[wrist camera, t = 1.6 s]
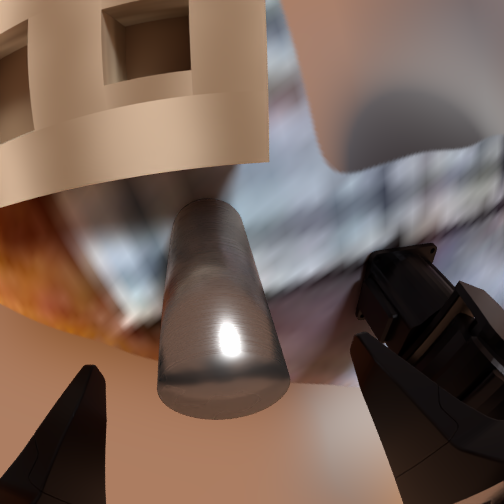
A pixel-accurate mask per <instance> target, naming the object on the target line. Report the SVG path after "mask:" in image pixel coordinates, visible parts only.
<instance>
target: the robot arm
mask: <svg viewBox="0 0 504 504" xmlns="http://www.w3.org/2000/svg"><path fill="white" fill-rule="evenodd" d="M436 251H437V247H436V246H435V245H434V244H433V243H427V244H420V245H413V246H406V247H399V248H392V249H385V250H378V251H374V252H373V253H372V254H371V255H370V258H369V263H368V267H367V271H366V276H365V280H364V282H363V286H362V290H361V294H360V298H359V301H358V307H357V310H356V317H357V319H358V320H364V319H366V321H367V322H368V324H369V326H370V327H371V329H372V331H373V332H374V334H375V336H376V337H377V339H378V340H377V339H376V338H374V337H373V336H372V335H370V334H369V333H367V332H362V333H357V334H356V335H355V336H354V339H353V342H352V345H351V348H350V354H351V358H352V361H353V364H354V368H355V371H356V375H357V378H358V382H359V385H360V389H361V391H362V394H363V397H364V399H365V402H366V404H367V406H368V409H369V412H370V414H371V416H372V419H373V422H374V424H375V426H376V429H377V432H378V434H379V437H380V440H381V442H382V445H383V447H384V450H385V453H386V456H387V458H388V461H389V464H390V466H391V469H392V472H393V475H394V477H395V481H396V484H397V486H398V489H399V492H400V495H401V498H402V501H403V504H504V310H503V309H502V307H501V306H500V305H499V304H498V303H497V302H496V301H495V300H494V299H493V298H492V297H491V296H490V295H489V294H487V293H486V292H485V291H484V290H482V289H480V288H477V287H474V286H472V285H469V284H467V283H464V282H462V281H459V282H458V283H457V285H456V286H455V287H454V286H453V285H452V283H451V282H450V281H449V280H448V279H447V278H446V277H445V276H444V275H443V274H442V273H441V272H440V271H439V270H438V269H437V268H436V267H435V266H434V265H433V264H432V263H433V260H434V257H435V254H436ZM377 257H378V258H377ZM376 258H377V259H376ZM474 317H475V318H474ZM382 343H386V345H387V346H388V347H386V346H385V345H384V344H382ZM106 422H107V419H106V383H105V379H104V377H103V375H102V374H101V372H100V371H99V369H98V368H97V367H96V366H95V365H84V366H83V367H82V369H81V370H80V371H79V373H78V374H77V375H76V376H75V378H74V379H73V381H72V382H71V383H70V384H69V386H68V387H67V389H66V390H65V391H64V392H63V394H62V395H61V397H60V398H59V399H58V401H57V402H56V403H55V405H54V406H53V408H52V409H51V410H50V412H49V413H48V415H47V416H46V418H45V419H44V420H43V422H42V423H41V425H40V426H39V428H38V429H37V430H36V432H35V434H34V435H33V437H32V438H31V439H30V441H29V442H28V444H27V445H26V447H25V448H24V449H23V451H22V452H21V453H20V455H19V456H18V457H17V459H16V460H15V461H14V462H13V464H12V465H11V466H10V467H9V468H8V470H7V471H6V472H5V473H4V475H3V476H2V477H1V478H0V504H106V494H105V445H106Z"/></svg>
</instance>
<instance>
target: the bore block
mask: <svg viewBox="0 0 504 504" xmlns="http://www.w3.org/2000/svg"><path fill="white" fill-rule="evenodd" d="M260 162H269V115H268V71H267V38H266V10H265V0H0V208H1V207H4V206H8V205H11V204H15V203H18V202H22V201H25V200H29V199H33V198H37V197H40V196H44V195H48V194H52V193H57V192H61V191H65V190H70V189H74V188H79V187H83V186H88V185H93V184H98V183H103V182H108V181H114V180H119V179H125V178H131V177H137V176H143V175H149V174H156V173H163V172H170V171H178V170H186V169H194V168H203V167H212V166H223V165H234V164H246V163H260Z"/></svg>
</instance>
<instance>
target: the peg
mask: <svg viewBox="0 0 504 504" xmlns="http://www.w3.org/2000/svg"><path fill="white" fill-rule="evenodd" d="M289 385H290V376H289V372H288V369H287V366H286V362H285V359H284V356H283V353H282V349H281V346H280V343H279V340H278V336H277V333H276V330H275V327H274V323H273V320H272V317H271V313H270V310H269V307H268V304H267V300H266V297H265V294H264V291H263V287H262V284H261V281H260V278H259V274H258V271H257V268H256V264H255V261H254V258H253V255H252V251H251V248H250V245H249V242H248V238H247V235H246V232H245V228H244V225H243V222H242V219H241V217H240V215H239V213H238V212H237V211H236V210H235V209H234V208H233V207H232V206H231V205H229V204H228V203H226V202H224V201H221V200H217V199H201V200H197V201H194V202H192V203H190V204H188V205H187V206H185V207H184V208H183V209H182V210H181V211H180V212H179V214H178V215H177V217H176V219H175V221H174V224H173V230H172V237H171V243H170V250H169V258H168V265H167V273H166V281H165V290H164V299H163V309H162V320H161V332H160V345H159V361H158V382H157V391H158V395H159V397H160V399H161V400H162V401H163V403H164V404H165V405H166V406H168V407H169V408H171V409H172V410H174V411H176V412H178V413H181V414H183V415H186V416H190V417H195V418H200V419H212V420H219V419H232V418H238V417H243V416H247V415H250V414H254V413H256V412H259V411H261V410H264V409H266V408H268V407H269V406H271V405H272V404H274V403H276V402H277V401H278V400H279V399H281V397H283V395H284V394H285V393H286V392H287V390H288V388H289Z"/></svg>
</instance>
